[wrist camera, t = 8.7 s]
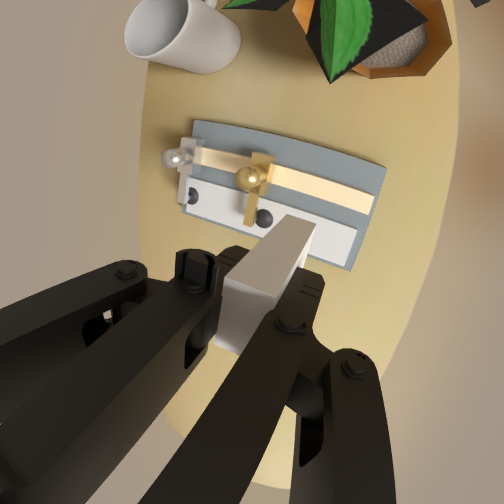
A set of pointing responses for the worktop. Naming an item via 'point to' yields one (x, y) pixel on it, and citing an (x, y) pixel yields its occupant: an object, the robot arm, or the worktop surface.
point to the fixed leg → (185, 163)
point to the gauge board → (287, 188)
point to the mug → (182, 35)
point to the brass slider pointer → (255, 182)
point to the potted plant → (370, 34)
